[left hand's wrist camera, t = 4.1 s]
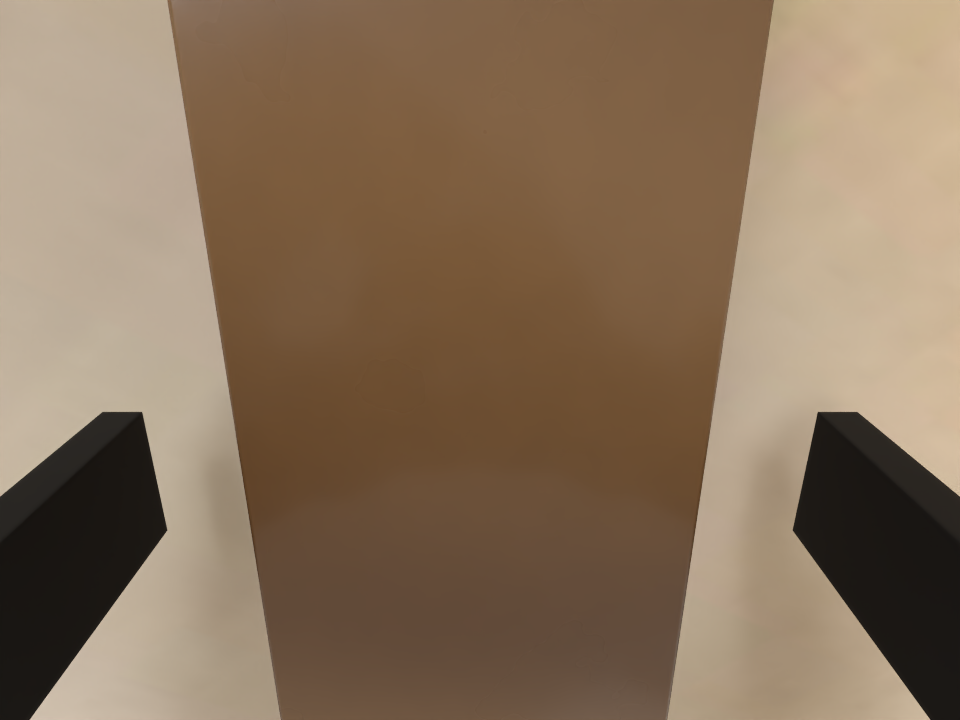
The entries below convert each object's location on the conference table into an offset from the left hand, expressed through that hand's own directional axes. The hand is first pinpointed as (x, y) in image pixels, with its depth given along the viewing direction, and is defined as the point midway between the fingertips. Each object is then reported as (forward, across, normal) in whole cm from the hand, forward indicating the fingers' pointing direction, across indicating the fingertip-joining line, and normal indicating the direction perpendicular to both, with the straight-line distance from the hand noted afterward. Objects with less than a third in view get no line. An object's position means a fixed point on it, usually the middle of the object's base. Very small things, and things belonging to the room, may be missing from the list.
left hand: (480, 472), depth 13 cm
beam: (+3, 0, -29) cm, 29 cm away
